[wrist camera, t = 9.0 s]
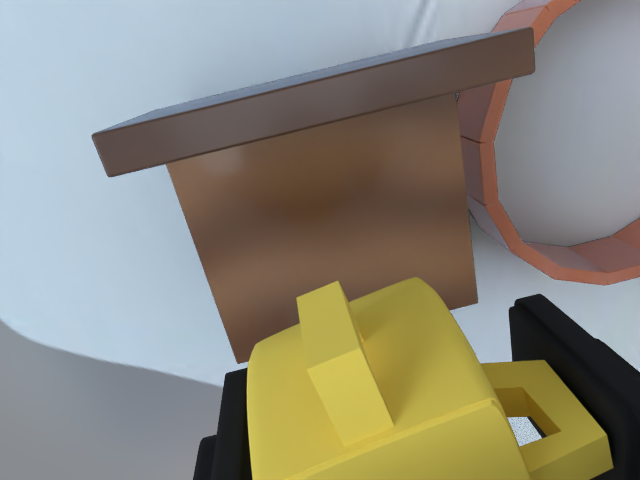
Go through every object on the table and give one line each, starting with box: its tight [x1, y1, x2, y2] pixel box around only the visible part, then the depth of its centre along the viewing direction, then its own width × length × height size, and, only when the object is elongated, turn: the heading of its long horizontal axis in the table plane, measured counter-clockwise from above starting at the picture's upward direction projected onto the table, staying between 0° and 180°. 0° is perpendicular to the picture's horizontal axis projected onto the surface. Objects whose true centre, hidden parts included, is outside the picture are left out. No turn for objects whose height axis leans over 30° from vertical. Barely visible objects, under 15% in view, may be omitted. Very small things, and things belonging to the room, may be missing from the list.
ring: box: [457, 0, 640, 285], centre depth 25 cm, size 17×17×4 cm
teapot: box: [247, 277, 614, 480], centre depth 9 cm, size 8×6×5 cm
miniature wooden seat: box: [92, 27, 535, 364], centre depth 20 cm, size 12×12×13 cm
